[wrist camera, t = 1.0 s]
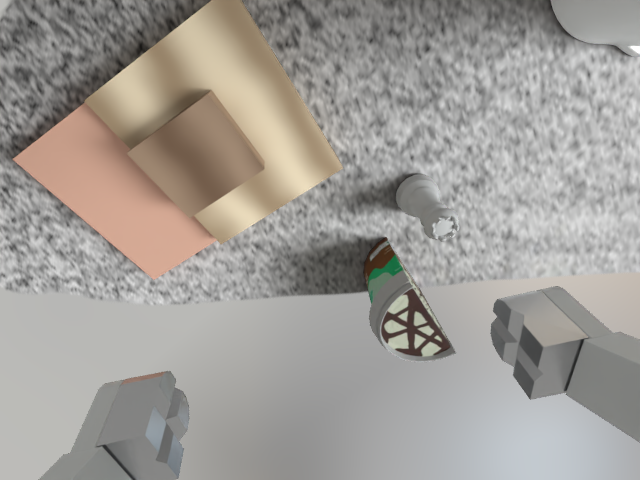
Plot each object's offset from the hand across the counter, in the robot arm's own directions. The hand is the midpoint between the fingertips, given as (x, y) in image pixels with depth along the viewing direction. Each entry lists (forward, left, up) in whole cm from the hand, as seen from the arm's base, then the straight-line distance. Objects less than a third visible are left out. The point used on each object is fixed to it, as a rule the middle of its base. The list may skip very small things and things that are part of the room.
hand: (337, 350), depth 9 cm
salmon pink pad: (+17, -1, -28) cm, 33 cm away
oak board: (+5, -1, -28) cm, 28 cm away
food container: (+1, +23, -28) cm, 36 cm away
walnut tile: (+8, -1, -25) cm, 26 cm away
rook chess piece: (-7, +15, -28) cm, 32 cm away
